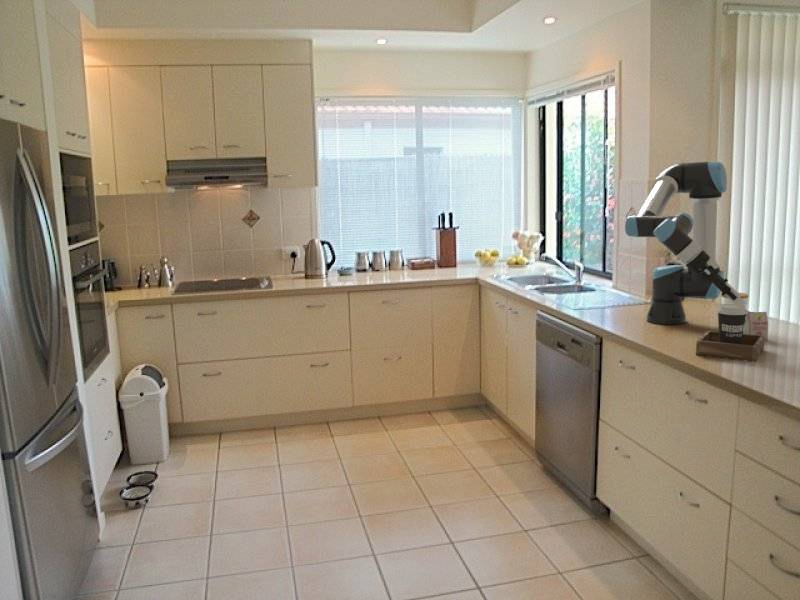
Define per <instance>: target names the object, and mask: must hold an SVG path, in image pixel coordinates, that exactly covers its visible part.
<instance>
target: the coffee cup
mask: <svg viewBox="0 0 800 600" xmlns="http://www.w3.org/2000/svg"><path fill="white" fill-rule="evenodd" d="M716 313H717V319H718V321H717V323H718V332H719V342H721V343H731V344H741V345H742V338H743V334H744V325H745V320H746V317H747V314H748V309H747V306H746V307H745V306H742V307H741V308H740V309H739V308H738V307H737V306H736V305H735V304H722V303H721V304H719V305H718V308H717V309H716Z"/></svg>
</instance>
